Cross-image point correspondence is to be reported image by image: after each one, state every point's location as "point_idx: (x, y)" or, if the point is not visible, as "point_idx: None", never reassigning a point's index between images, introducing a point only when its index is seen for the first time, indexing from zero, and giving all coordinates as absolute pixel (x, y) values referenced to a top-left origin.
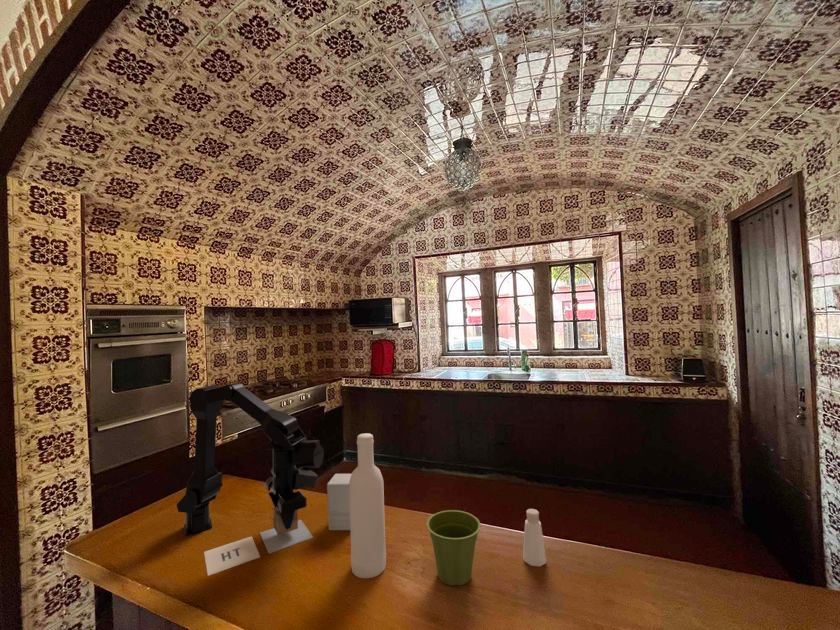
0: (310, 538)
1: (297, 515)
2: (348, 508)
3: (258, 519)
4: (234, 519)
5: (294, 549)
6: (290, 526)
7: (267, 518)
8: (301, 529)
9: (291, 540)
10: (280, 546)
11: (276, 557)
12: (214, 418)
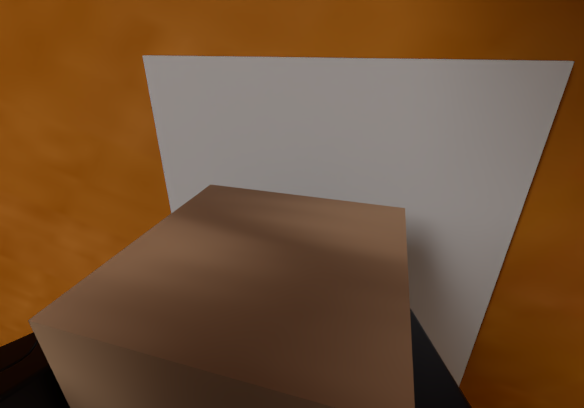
0: (557, 94)
1: (409, 315)
2: None
3: (45, 264)
4: (20, 327)
5: (574, 268)
6: (416, 322)
7: (47, 229)
8: (320, 114)
9: (432, 244)
10: (447, 325)
11: (542, 377)
12: None
